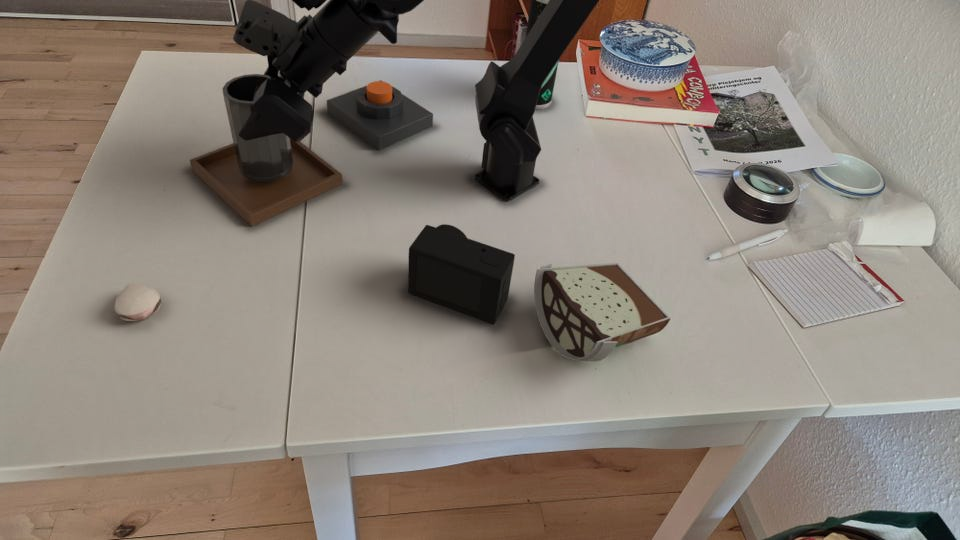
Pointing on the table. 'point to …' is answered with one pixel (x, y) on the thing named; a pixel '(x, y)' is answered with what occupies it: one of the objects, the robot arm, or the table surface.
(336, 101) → the push button switch
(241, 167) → the cup
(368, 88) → the timer button
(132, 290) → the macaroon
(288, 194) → the tray
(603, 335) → the food container
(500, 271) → the digital camera
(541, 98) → the spray can
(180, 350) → the table surface
